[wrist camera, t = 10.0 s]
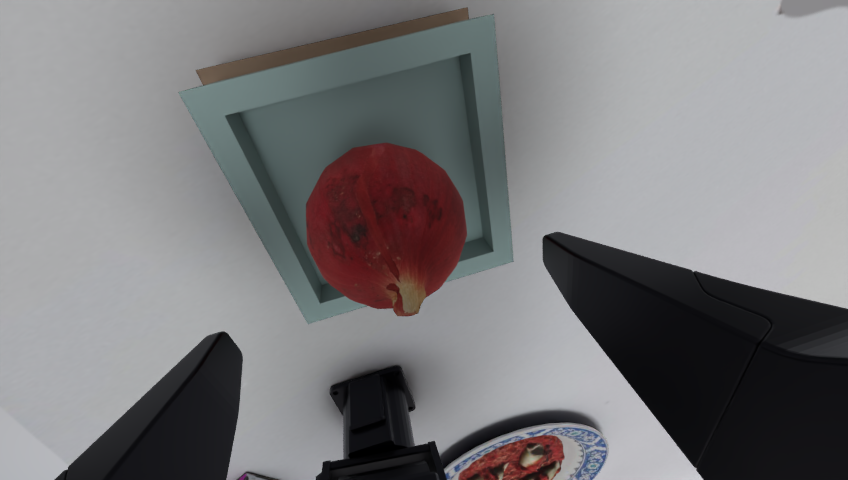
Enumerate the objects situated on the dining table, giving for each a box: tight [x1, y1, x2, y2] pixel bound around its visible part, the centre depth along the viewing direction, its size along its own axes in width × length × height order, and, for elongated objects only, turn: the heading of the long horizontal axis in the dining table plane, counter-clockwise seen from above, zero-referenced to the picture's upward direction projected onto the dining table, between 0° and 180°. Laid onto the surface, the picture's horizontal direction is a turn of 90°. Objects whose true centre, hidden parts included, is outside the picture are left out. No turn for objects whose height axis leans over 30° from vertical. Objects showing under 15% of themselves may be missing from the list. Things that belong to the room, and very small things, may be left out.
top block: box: [178, 14, 514, 324], centre depth 16 cm, size 11×11×4 cm
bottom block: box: [196, 7, 469, 85], centre depth 19 cm, size 12×12×4 cm
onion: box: [306, 143, 467, 316], centre depth 12 cm, size 6×6×8 cm
